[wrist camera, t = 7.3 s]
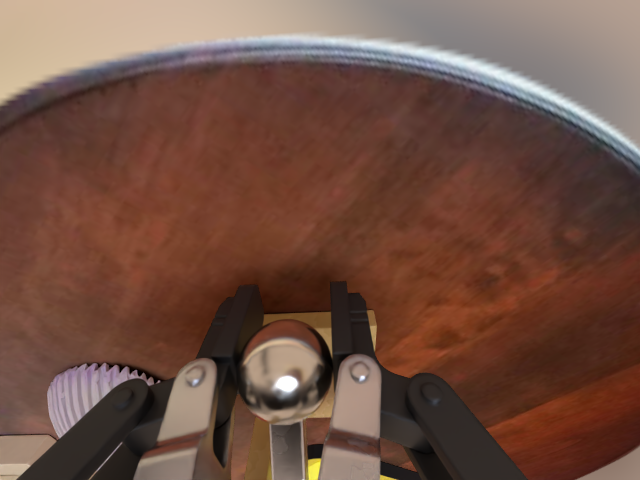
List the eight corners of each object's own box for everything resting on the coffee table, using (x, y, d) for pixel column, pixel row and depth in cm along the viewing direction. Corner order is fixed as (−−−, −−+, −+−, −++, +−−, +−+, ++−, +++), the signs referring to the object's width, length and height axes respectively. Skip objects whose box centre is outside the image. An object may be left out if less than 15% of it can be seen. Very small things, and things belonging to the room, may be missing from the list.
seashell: (147, 487, 23) (-19, 495, 17) (165, 413, 27) (35, 400, 21) (211, 455, 18) (19, 452, 13) (222, 373, 22) (78, 344, 17)
